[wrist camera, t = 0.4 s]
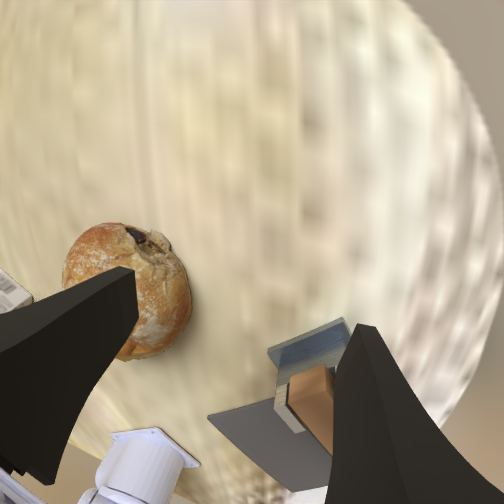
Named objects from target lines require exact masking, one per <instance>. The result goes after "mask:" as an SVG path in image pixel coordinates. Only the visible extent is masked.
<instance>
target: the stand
mask: <svg viewBox="0 0 504 504" xmlns="http://www.w3.org/2000/svg"><path fill="white" fill-rule="evenodd" d="M351 336H352V334H351V332H350V330H349V328H348V326H347V324H346V322H345V321H344V319H343V317H341V318H339V319H337V320H335V321H332V322H330V323H328V324H326V325H323V326H321V327H319V328H317V329H314V330H312V331H310V332H307V333H305V334H303V335H300V336H298V337H295V338H293V339H291V340H288V341H286V342H283V343H281V344H278V345H276V346H273V347H271V348H268V353H267V354H268V355H269V356H270V358H271V359H272V360H273V362H274V363H275V365H276V366H277V367H278V369H279V372H278V380H277V387H276V395H275V402H274V410H275V411H276V412H277V413H278V415H279V416H280V417H281V418H282V419H283V420H284V421H285V423H286V424H287V425H288V426H289V427H290V428H291V429H292V431H293V432H294V433H299V432H302V431H306V424H305V423H304V422H303V421H302V420H301V418H300V417H299V416H298V415H297V413H296V412H295V411H294V410H293V409H292V407H291V406H290V405H289V404H288V399H289V388H290V377H291V376H293V375H296V374H299V373H302V372H304V371H307V370H310V369H312V368H315V367H317V366H320V365H323V364H325V365H326V367H327V368H328V370H329V372H330V373H331V375H332V376H333V378H334V380H335V377H336V368H337V365H338V363H339V361H340V359H341V357H342V355H343V353H344V351H345V349H346V347H347V345H348V342H349V340H350V338H351Z"/></svg>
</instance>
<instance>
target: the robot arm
mask: <svg viewBox="0 0 504 504" xmlns="http://www.w3.org/2000/svg"><path fill="white" fill-rule="evenodd" d="M138 319H139V309H138V300H137V290H136V279H135V270H133V269H129V268H126V267H122V266H118V267H115V268H112V269H110V270H107V271H105V272H103V273H101V274H98V275H96V276H94V277H92V278H90V279H87V280H85V281H83V282H81V283H79V284H77V285H74V286H72V287H70V288H68V289H66V290H64V291H61V292H59V293H56V294H54V295H52V296H49V297H47V298H45V299H42V300H40V301H38V302H35V303H32V304H30V305H27V306H24V307H21V308H18V309H15V310H12V311H9V312H5V313H1V314H0V504H47V503H46V502H44V501H43V500H42V499H40V498H39V497H37V496H36V495H35V494H33V493H32V492H31V491H29V490H28V489H27V488H25V487H24V486H23V485H21V484H20V483H19V482H18V481H16V480H15V479H14V478H13V477H11V476H10V475H11V473H12V472H13V470H15V471H16V472H17V473H18V474H20V475H21V476H23V475H24V474H25V472H28V473H29V474H30V475H31V476H33V477H34V478H35V479H37V480H38V481H39V482H41V483H42V484H44V485H52V484H54V483H55V479H56V475H57V471H58V468H59V464H60V461H61V458H62V455H63V452H64V449H65V446H66V444H67V441H68V439H69V436H70V434H71V432H72V429H73V427H74V425H75V423H76V420H77V418H78V416H79V414H80V412H81V410H82V408H83V406H84V404H85V402H86V400H87V398H88V396H89V395H90V393H91V391H92V390H93V388H94V387H95V385H96V384H97V382H98V381H99V379H100V378H101V377H102V375H103V374H104V372H105V371H106V369H107V368H108V367H109V365H110V364H111V362H112V361H113V360H114V358H115V357H116V355H117V354H118V353H119V351H120V350H121V348H122V347H123V346H124V344H125V343H126V341H127V340H128V338H129V336H130V334H131V332H132V331H133V329H134V327H135V325H136V323H137V321H138ZM110 437H111V438H112V439H113V440H114V442H113V443H112V445H111V447H110V449H109V450H108V452H107V454H106V455H105V457H104V459H103V461H102V462H101V464H100V466H99V468H98V469H97V472H96V476H95V479H96V486H97V488H98V489H96V488H92V489H87V490H86V491H85V492H84V494H83V495H82V497H81V498H80V500H79V502H78V503H77V504H169V502H170V499H171V497H172V494H173V491H174V489H175V486H176V483H177V481H178V478H179V476H180V473H181V470H182V468H195V467H199V466H200V463H199V462H198V461H196V460H195V459H194V458H193V457H191V456H190V455H189V454H188V453H187V452H185V451H184V450H183V449H182V448H181V447H180V446H178V445H177V444H176V443H175V442H174V441H173V440H172V439H170V438H169V437H168V436H167V435H166V434H165V433H164V432H163V431H162V430H161V429H159V428H157V427H154V428H148V429H141V430H133V431H125V432H116V433H111V434H110ZM325 504H504V493H503V492H501V491H500V490H499V489H498V488H496V487H495V486H493V485H492V484H491V483H489V481H487V480H486V479H485V478H484V477H483V476H482V475H481V474H480V473H479V472H478V471H477V470H476V469H474V468H473V467H472V466H471V465H470V464H469V463H468V462H467V461H466V460H465V459H464V457H463V456H462V455H461V454H460V453H459V452H458V451H457V450H456V449H455V447H454V446H453V445H452V444H451V443H450V442H449V441H448V439H447V438H446V437H445V436H444V434H443V433H442V432H441V431H440V429H439V428H438V427H437V425H436V424H435V423H434V421H433V420H432V419H431V417H430V416H429V415H428V413H427V412H426V410H425V409H424V407H423V406H422V404H421V403H420V401H419V400H418V398H417V397H416V395H415V394H414V392H413V391H412V389H411V387H410V386H409V384H408V382H407V381H406V379H405V377H404V376H403V374H402V372H401V371H400V369H399V367H398V365H397V364H396V362H395V360H394V358H393V357H392V355H391V353H390V351H389V349H388V348H387V346H386V344H385V342H384V341H383V339H382V337H381V335H380V334H379V332H378V330H377V329H376V327H374V326H369V325H363V324H358V323H357V325H356V327H355V329H354V332H353V334H352V336H351V338H350V340H349V342H348V345H347V347H346V349H345V351H344V353H343V355H342V357H341V359H340V361H339V363H338V365H337V368H336V377H335V385H334V394H333V455H332V466H331V473H330V478H329V484H328V490H327V495H326V499H325Z"/></svg>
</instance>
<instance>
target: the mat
mask: <svg viewBox="0 0 504 504" xmlns="http://www.w3.org/2000/svg"><path fill="white" fill-rule="evenodd" d="M274 402H275V398H272V399H269V400H265V401H262V402H258V403H255V404H251V405H248V406H244V407H240V408H237V409H233V410H229V411H225V412H221V413H217V414H213V415H208V417H207V419H208V420H209V421H210V422H211V423H212V424H213V425H214V426H215V427H216V428H217V429H218V430H219V431H220V432H221V433H222V434H223V435H224V436H225V437H226V438H228V439H229V440H230V441H231V442H232V443H233V444H234V445H235V446H236V447H237V448H238V449H240V450H241V451H242V452H243V453H244V454H245V455H246V456H248V457H249V458H250V459H251V460H252V461H253V462H254V463H256V464H257V465H258V466H259V467H260V468H262V469H263V470H264V471H265V472H266V473H268V474H269V475H270V476H271V477H273V478H274V479H275V480H276V481H278V482H279V483H280V484H281V485H283V486H284V487H285V488H287V489H288V490H289V491H291V492H298V491H304V490H309V489H314V488H319V487H324V486H328V484H329V478H330V473H331V466H332V455H331V454H330V453H329V452H328V450H327V449H326V448H325V447H324V446H323V445H322V443H321V442H320V441H319V440H318V439H317V438H316V436H315V435H314V434H313V433H312V432H311V430H310V429H309V428H308V427H307V426H306V431H302V432H299V433H294V432H293V431H292V429H291V428H290V427H289V426H288V425H287V424H286V423H285V421H284V420H283V419H282V418H281V417H280V416H279V415H278V413H277V412H276V411H275V410H274Z"/></svg>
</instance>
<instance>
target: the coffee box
mask: <svg viewBox="0 0 504 504" xmlns="http://www.w3.org/2000/svg"><path fill="white" fill-rule="evenodd" d="M30 304H32V295H31V294H30V293H29V292H28V291H26V290H25V289H24V288H23V287H21V286H20V285H19V284H18V283H17V282H16V281H14V280H13V279H12V278H11V277H10V276H9V275H8V274H7V273H5V272H4V271H3V270H2V269H1V268H0V314H1V313H5V312H9V311H12V310H15V309H18V308H21V307H24V306H27V305H30Z"/></svg>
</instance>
